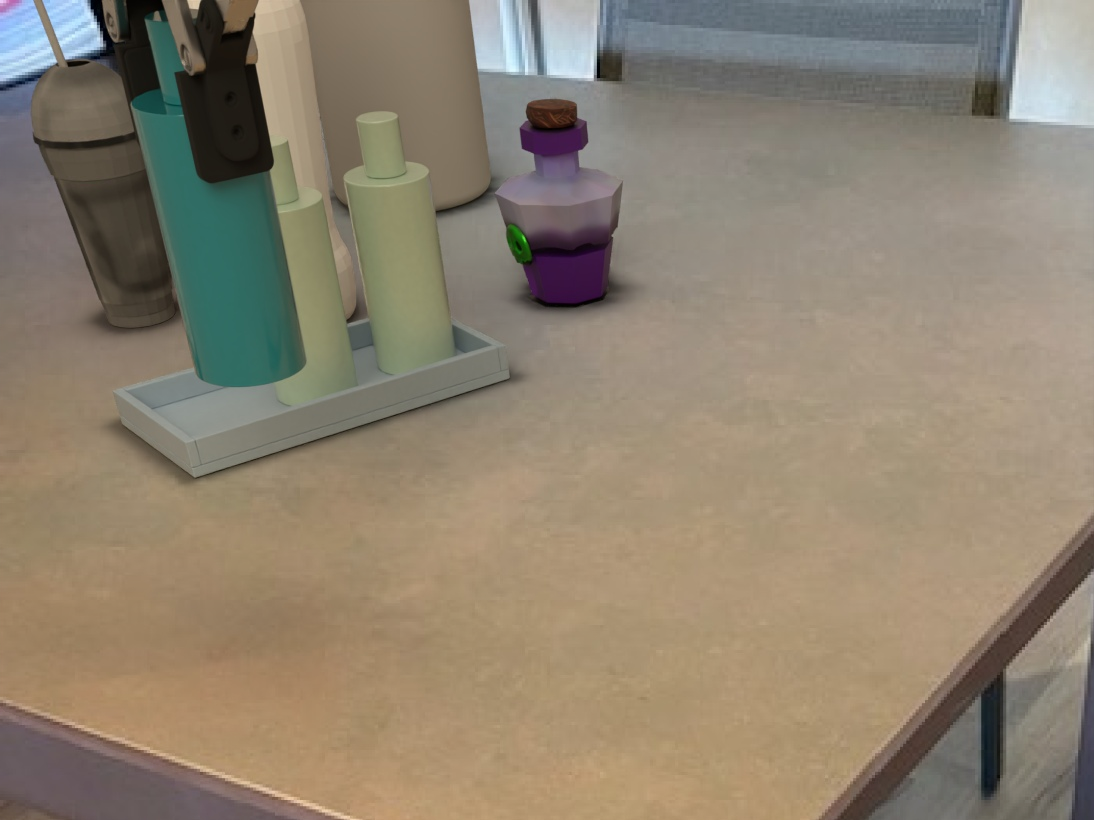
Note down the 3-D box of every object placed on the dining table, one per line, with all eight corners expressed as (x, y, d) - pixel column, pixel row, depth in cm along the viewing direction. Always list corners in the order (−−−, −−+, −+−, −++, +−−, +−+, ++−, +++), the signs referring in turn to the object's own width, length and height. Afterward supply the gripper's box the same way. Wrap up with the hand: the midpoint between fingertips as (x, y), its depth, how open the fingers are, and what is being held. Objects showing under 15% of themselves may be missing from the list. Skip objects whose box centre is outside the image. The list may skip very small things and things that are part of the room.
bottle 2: (299, 414, 98) (244, 159, 88) (261, 390, 100) (204, 141, 91) (373, 392, 100) (327, 140, 90) (334, 369, 103) (285, 123, 93)
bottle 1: (385, 305, 113) (290, -240, 93) (310, 346, 107) (192, -222, 87) (292, 289, 116) (181, -242, 96) (215, 328, 110) (80, -225, 90)
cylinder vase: (479, 163, 137) (432, -205, 121) (504, 206, 128) (456, -185, 112) (329, 180, 135) (259, -193, 118) (343, 225, 126) (270, -172, 109)
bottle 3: (402, 383, 101) (359, 133, 91) (362, 360, 104) (317, 116, 94) (472, 362, 103) (437, 116, 94) (430, 340, 106) (393, 100, 97)
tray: (194, 478, 93) (185, 442, 91) (121, 424, 99) (111, 389, 97) (510, 378, 102) (506, 344, 101) (426, 335, 108) (421, 302, 107)
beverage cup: (195, 328, 111) (110, -16, 97) (84, 340, 109) (-19, -5, 96) (196, 292, 116) (114, -38, 102) (89, 303, 115) (-8, -29, 101)
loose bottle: (225, 397, 72) (141, 36, 63) (176, 363, 75) (89, 14, 66) (326, 368, 74) (260, 15, 65) (275, 336, 77) (205, -5, 68)
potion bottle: (482, 303, 113) (455, 109, 104) (557, 264, 118) (537, 78, 110) (583, 324, 109) (564, 125, 101) (656, 283, 114) (643, 92, 106)
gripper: (-109, -412, 60) (42, 134, 72) (73, -400, 50) (212, 229, 62) (89, -419, 63) (201, 103, 76) (296, -410, 53) (386, 189, 66)
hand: (205, 155), depth 69 cm, fingers closed on loose bottle, 5 cm apart
